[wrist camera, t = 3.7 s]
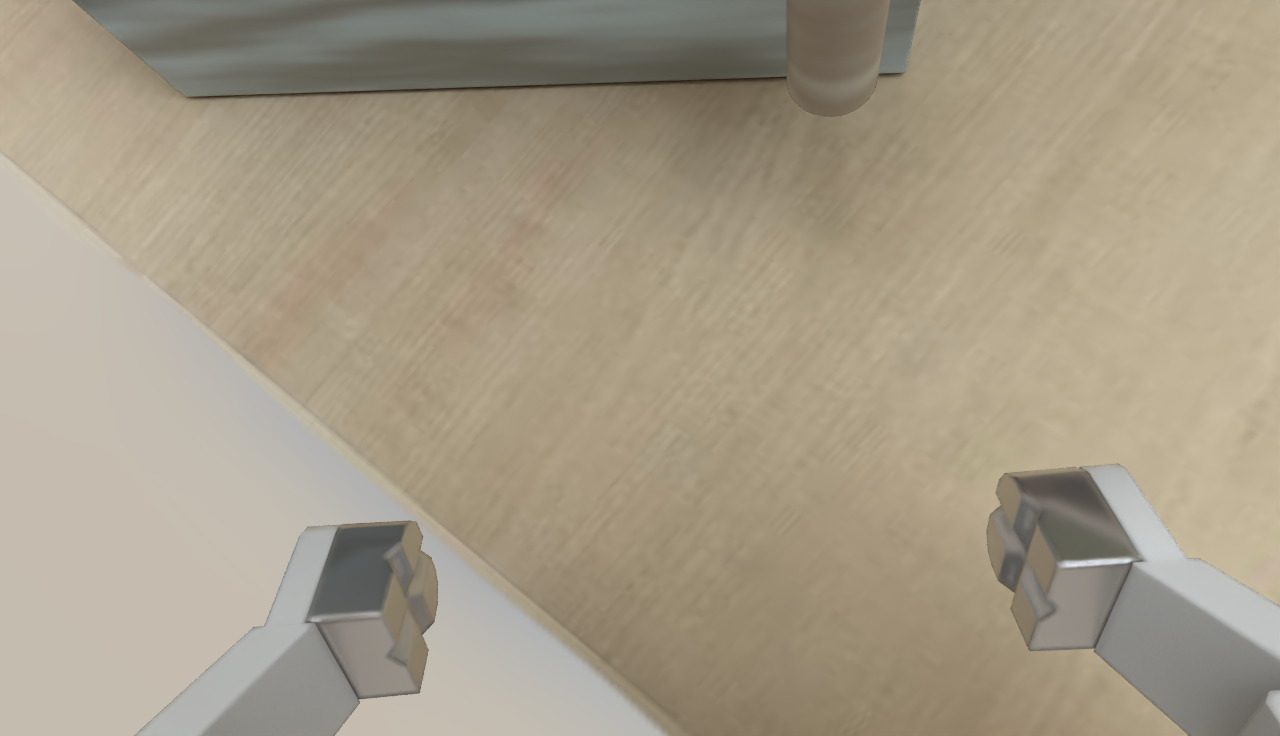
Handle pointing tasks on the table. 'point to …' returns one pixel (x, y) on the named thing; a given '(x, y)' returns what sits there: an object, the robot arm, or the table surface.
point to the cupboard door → (514, 43)
